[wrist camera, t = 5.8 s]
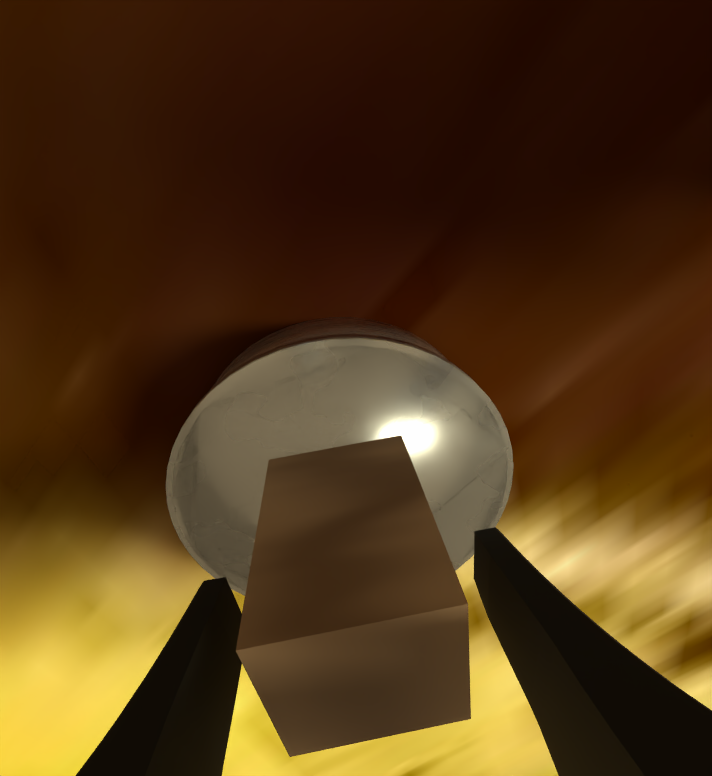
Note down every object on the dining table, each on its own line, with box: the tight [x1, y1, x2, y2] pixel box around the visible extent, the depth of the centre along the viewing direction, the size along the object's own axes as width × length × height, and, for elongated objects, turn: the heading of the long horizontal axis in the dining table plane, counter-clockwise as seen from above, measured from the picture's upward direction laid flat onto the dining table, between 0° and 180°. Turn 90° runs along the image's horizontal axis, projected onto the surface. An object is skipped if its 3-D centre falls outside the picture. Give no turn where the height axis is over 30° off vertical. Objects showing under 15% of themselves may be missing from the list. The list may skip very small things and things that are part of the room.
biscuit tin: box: [166, 317, 513, 595], centre depth 15 cm, size 12×12×4 cm
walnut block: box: [236, 435, 471, 757], centre depth 11 cm, size 4×4×6 cm
